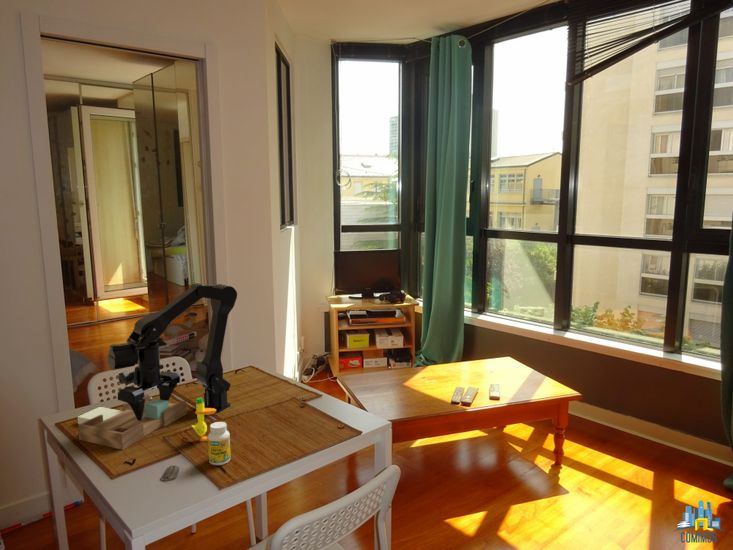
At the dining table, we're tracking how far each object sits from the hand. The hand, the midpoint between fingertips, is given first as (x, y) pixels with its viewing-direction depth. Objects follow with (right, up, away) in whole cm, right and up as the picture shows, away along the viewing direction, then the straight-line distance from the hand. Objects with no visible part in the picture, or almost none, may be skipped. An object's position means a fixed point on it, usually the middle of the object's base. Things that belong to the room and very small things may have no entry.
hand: (151, 414), depth 151 cm
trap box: (-5, -4, +1) cm, 6 cm away
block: (+1, -1, +2) cm, 2 cm away
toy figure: (+18, -5, -8) cm, 20 cm away
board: (-16, -3, +4) cm, 17 cm away
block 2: (+15, -8, -26) cm, 31 cm away
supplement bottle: (+25, -7, -19) cm, 32 cm away
